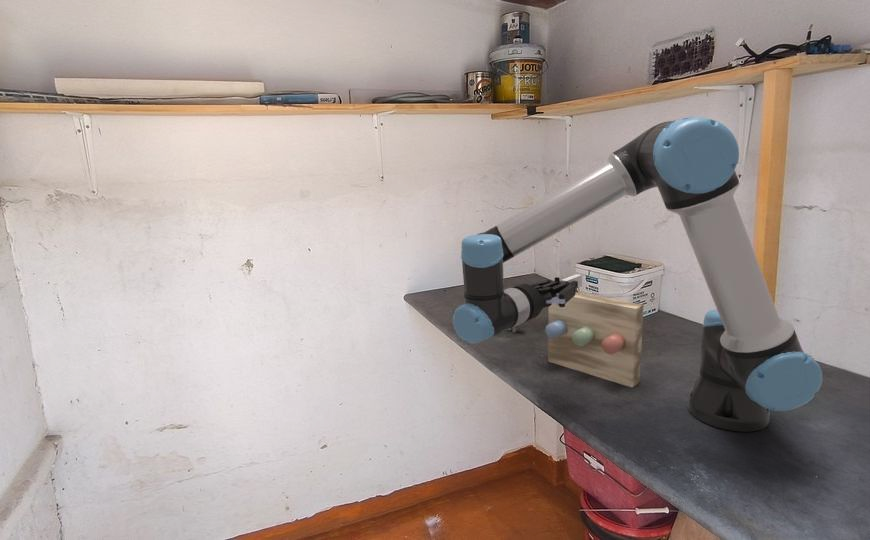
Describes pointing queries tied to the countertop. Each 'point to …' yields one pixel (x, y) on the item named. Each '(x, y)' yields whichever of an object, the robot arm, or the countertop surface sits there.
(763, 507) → the countertop surface
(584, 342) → the sage green button
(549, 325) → the slate blue button
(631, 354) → the button panel
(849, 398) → the countertop surface
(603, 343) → the brick red button
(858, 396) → the countertop surface
